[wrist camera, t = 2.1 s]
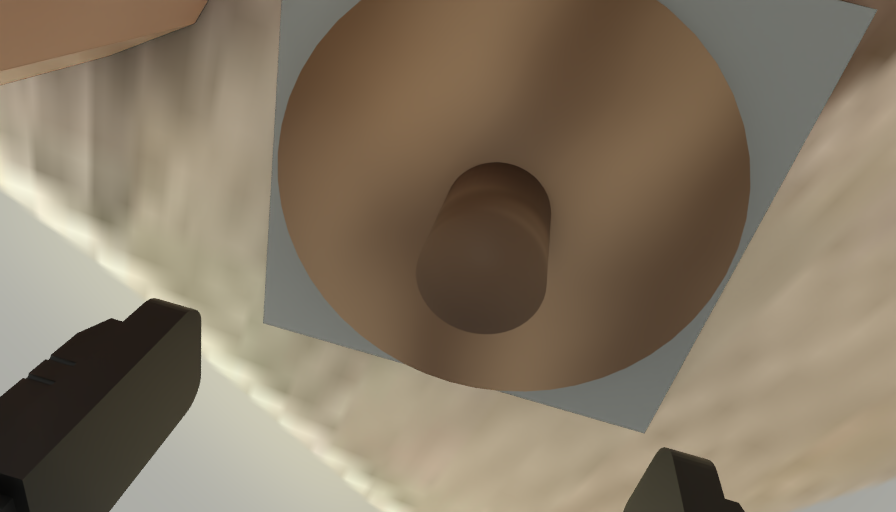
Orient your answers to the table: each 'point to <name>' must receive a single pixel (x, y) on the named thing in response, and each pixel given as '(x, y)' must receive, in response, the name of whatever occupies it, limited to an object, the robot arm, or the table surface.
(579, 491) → the table surface
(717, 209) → the lid
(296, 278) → the mat
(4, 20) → the pot
